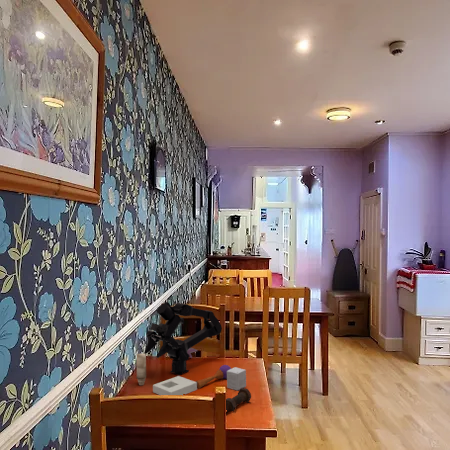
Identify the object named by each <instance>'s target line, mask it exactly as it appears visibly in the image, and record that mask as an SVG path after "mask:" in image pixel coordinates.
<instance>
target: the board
mask: <svg viewBox="0 0 450 450" xmlns="http://www.w3.org/2000/svg"><path fill="white" fill-rule="evenodd" d="M197 390H198V389H197V382H195V381H194V380H192V379H191V380H190V379H188V378H186V377H183V376H180V375H177V376H175V377H172V378H169V379H166V380H164V381H160V382H157V383H155V384H153V385H152V393H153V394H157V395H159V396H161V395H182V396H184V395H183V394H185V395H187V394H189V393H193V392H195V391H197Z"/></svg>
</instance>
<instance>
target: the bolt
mask: <svg viewBox="0 0 450 450" xmlns="http://www.w3.org/2000/svg"><path fill="white" fill-rule="evenodd" d="M251 398H252V394H251V392H250V390H249V388H246V387H244V388H241V389H240V390H238V393H237V395H234V396H233V397H232V398H231V397H227V398H226V399H225V400H226V410H227V413H228V412H230V411H233V412H234V411H235V410H236V408H237V406H238V405H240V404H242V403H246V404H248V403H249V402H250V401H251Z"/></svg>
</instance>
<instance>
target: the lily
mask: <svg viewBox="0 0 450 450" xmlns="http://www.w3.org/2000/svg"><path fill="white" fill-rule="evenodd" d="M198 351H199V350H197V349H196V348H194V347H191V348H189V349H188V351H187V353H188V354H189V355H190V356H189V359H190V358H191V359H192V358H193V356H192V354H191V353H195V352H198Z"/></svg>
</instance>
